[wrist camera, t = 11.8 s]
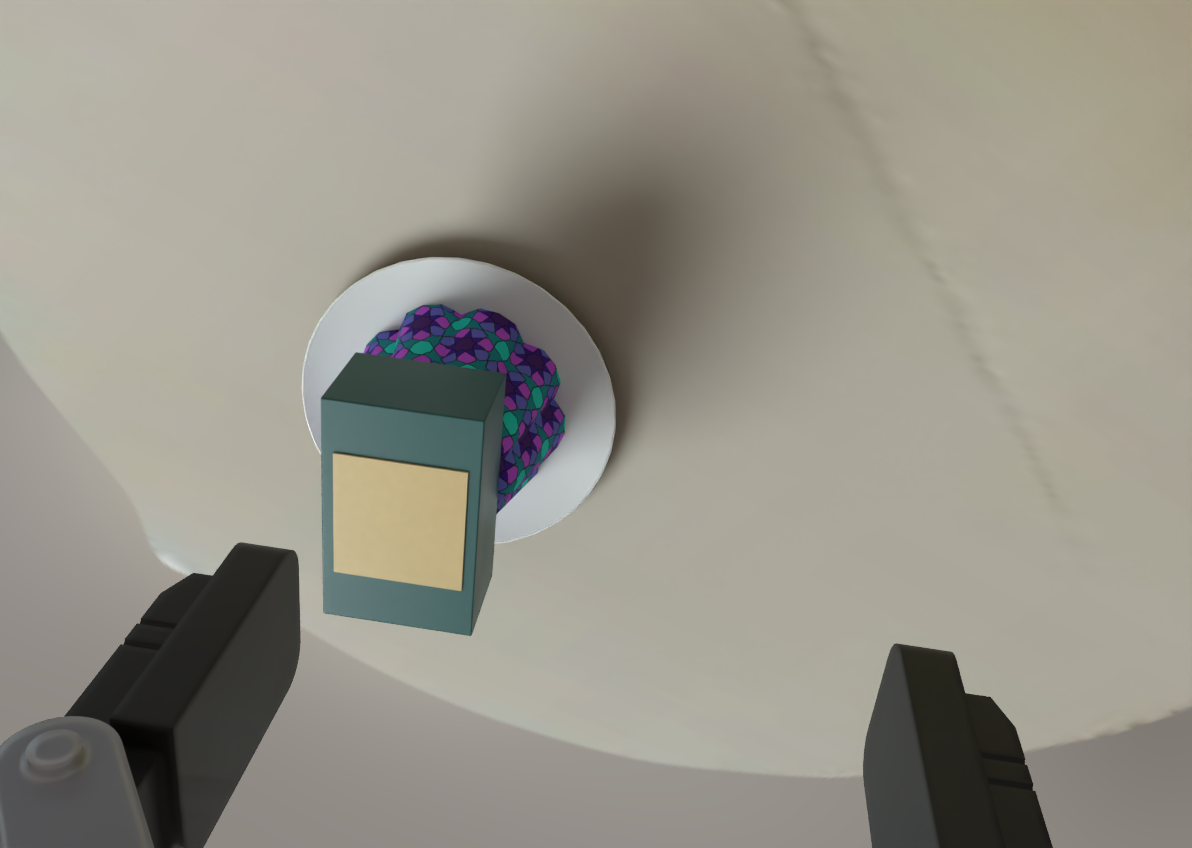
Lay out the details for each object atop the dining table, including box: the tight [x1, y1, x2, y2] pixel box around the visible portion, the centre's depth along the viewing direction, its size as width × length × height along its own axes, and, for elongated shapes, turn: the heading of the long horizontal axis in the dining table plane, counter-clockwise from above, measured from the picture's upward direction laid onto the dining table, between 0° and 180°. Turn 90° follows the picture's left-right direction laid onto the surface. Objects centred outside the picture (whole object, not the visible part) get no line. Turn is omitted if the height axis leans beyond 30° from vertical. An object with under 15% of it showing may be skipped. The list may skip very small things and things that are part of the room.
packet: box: [321, 352, 506, 636], centre depth 37 cm, size 5×8×4 cm, turn 174°
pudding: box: [302, 257, 616, 544], centre depth 41 cm, size 12×12×5 cm
